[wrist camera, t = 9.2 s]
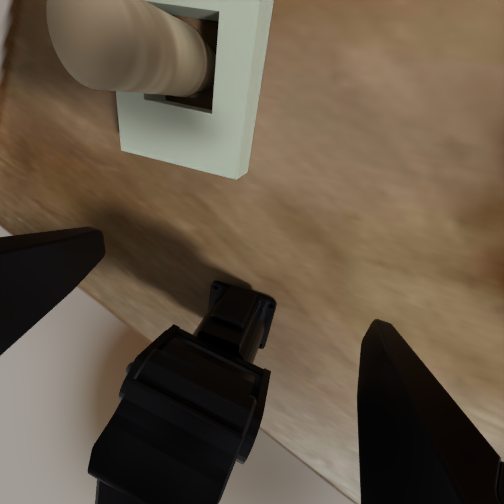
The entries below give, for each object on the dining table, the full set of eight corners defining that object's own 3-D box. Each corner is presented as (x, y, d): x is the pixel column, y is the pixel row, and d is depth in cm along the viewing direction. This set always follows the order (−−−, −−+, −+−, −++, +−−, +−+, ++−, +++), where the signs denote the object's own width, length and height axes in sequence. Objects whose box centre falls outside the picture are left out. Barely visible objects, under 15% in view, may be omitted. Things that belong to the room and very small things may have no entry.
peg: (220, 102, 18) (132, 99, 11) (172, 93, 19) (57, 82, 11) (226, 34, 16) (124, -30, 9) (173, 26, 17) (34, -41, 9)
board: (247, 172, 20) (236, 179, 18) (143, 146, 21) (121, 150, 19) (283, -61, 14) (271, -91, 12) (132, -73, 15) (98, -102, 13)
